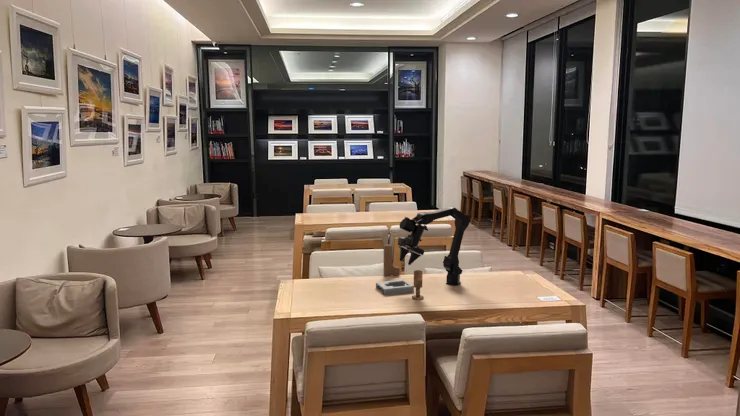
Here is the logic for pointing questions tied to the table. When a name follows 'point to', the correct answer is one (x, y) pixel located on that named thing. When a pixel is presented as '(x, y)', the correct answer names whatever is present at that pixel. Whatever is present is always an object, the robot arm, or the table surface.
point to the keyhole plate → (391, 287)
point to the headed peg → (418, 284)
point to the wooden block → (389, 262)
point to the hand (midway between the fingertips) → (404, 262)
